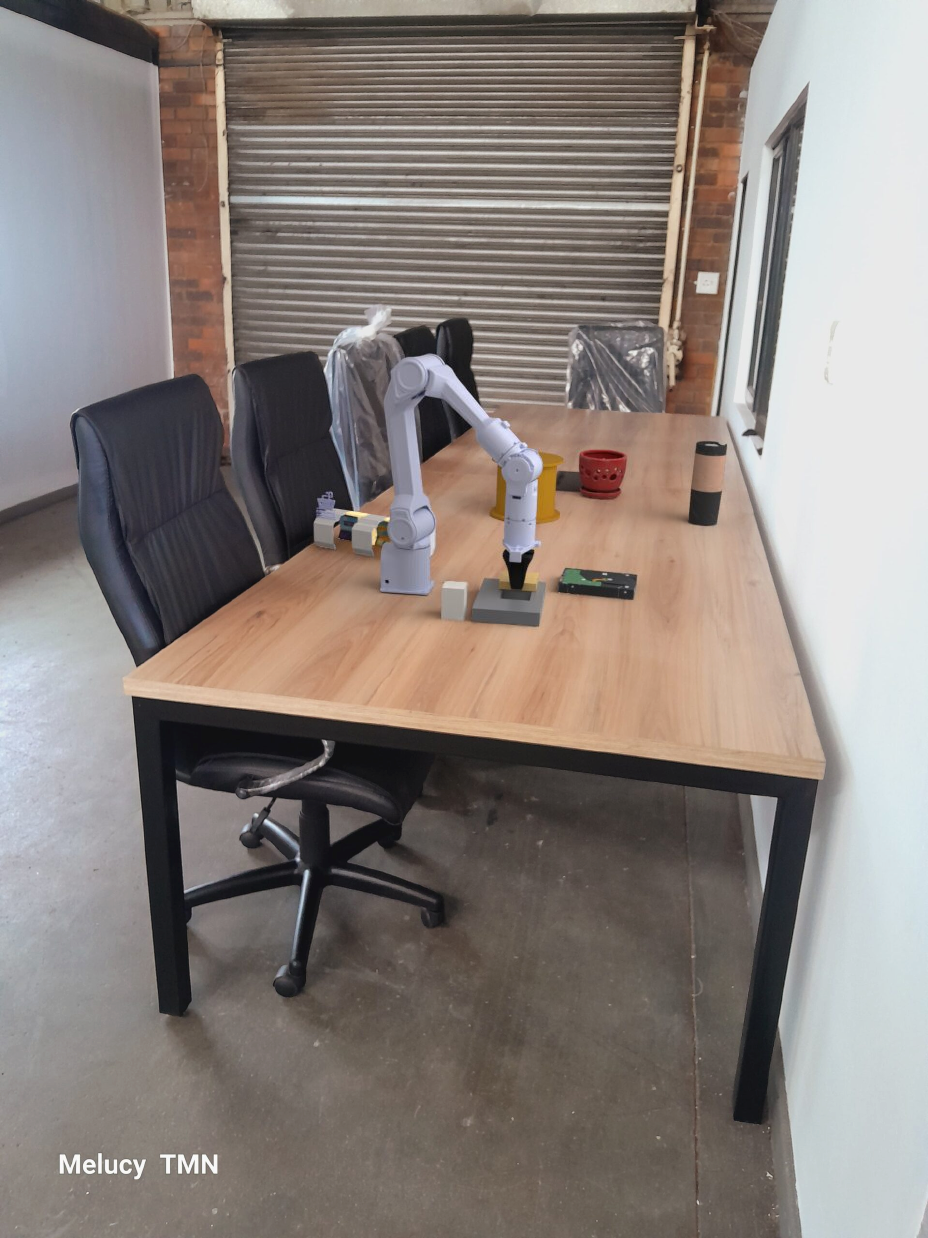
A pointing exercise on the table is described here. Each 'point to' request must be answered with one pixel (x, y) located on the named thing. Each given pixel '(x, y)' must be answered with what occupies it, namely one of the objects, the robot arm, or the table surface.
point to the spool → (544, 491)
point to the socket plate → (508, 604)
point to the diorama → (353, 528)
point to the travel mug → (707, 483)
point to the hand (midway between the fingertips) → (516, 588)
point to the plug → (454, 601)
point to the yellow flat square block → (529, 583)
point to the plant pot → (601, 473)
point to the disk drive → (598, 583)
